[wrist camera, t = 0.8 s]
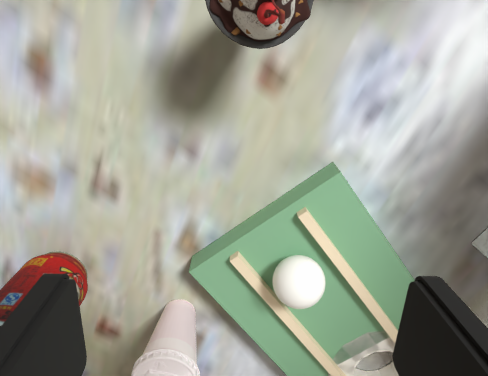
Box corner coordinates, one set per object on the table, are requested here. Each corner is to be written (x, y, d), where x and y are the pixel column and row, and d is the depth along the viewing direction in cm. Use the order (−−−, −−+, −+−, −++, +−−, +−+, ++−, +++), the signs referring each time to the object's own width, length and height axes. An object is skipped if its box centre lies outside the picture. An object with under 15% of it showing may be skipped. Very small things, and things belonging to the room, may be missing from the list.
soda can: (106, 283, 42) (56, 374, 31) (57, 308, 43) (-9, 404, 32) (66, 235, 40) (-4, 313, 28) (15, 262, 41) (-72, 349, 29)
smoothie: (184, 342, 45) (162, 464, 32) (141, 314, 44) (99, 431, 31) (218, 309, 43) (209, 425, 30) (174, 279, 42) (145, 388, 29)
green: (332, 161, 37) (349, 183, 31) (466, 357, 47) (497, 400, 41) (192, 256, 41) (184, 290, 35) (343, 418, 50) (355, 466, 45)
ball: (302, 236, 37) (311, 264, 32) (329, 270, 38) (341, 302, 33) (260, 262, 38) (263, 293, 33) (288, 295, 39) (295, 329, 35)
